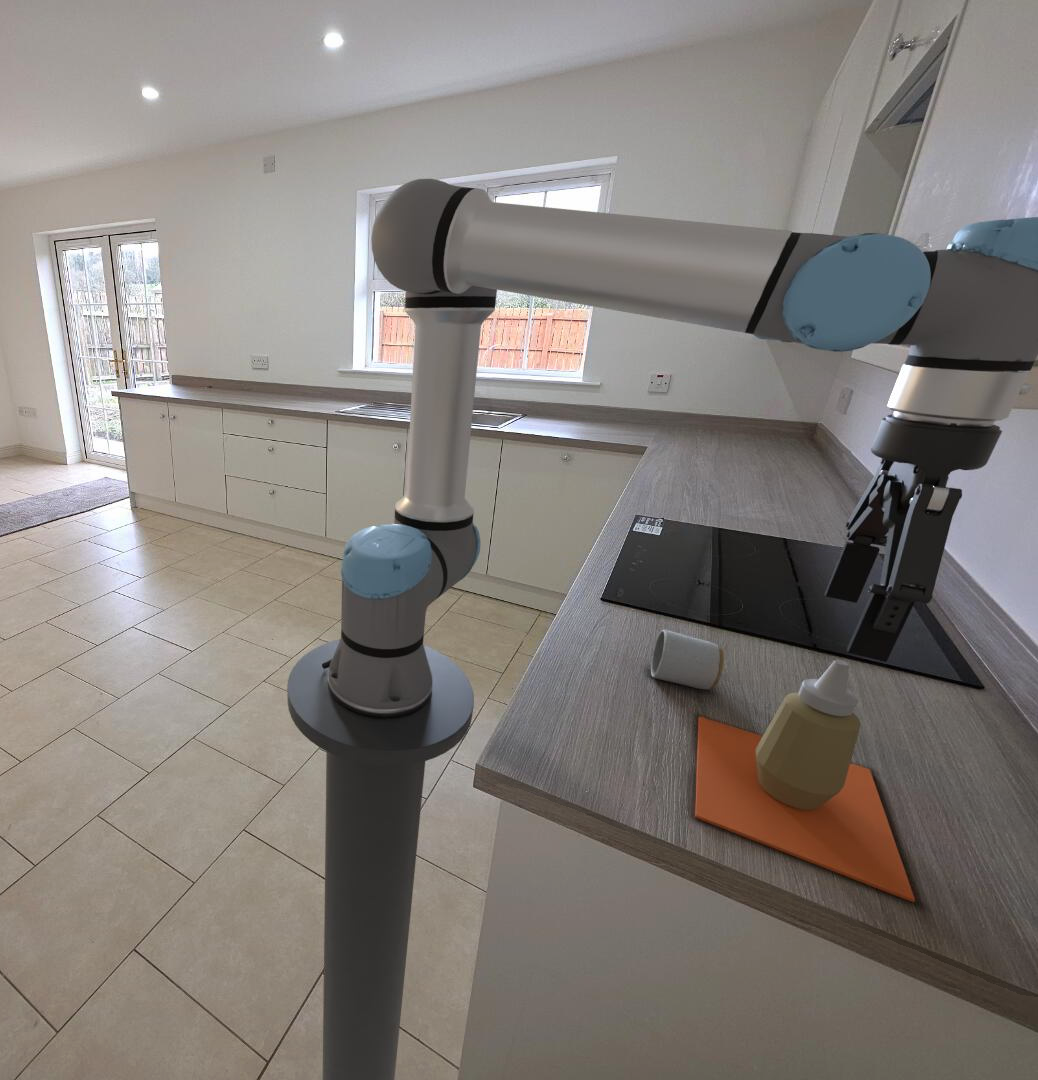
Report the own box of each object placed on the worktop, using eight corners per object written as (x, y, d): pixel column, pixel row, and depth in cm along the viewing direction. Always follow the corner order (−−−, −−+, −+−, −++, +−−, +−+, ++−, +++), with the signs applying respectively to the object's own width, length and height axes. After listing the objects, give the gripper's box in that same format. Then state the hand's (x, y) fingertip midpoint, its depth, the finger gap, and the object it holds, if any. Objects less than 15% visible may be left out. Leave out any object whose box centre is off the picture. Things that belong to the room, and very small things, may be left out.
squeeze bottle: (835, 791, 66) (895, 662, 60) (828, 832, 61) (892, 696, 54) (753, 755, 72) (799, 634, 65) (739, 791, 66) (788, 662, 60)
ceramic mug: (716, 701, 82) (730, 656, 79) (652, 687, 85) (664, 643, 83) (704, 664, 91) (717, 623, 88) (647, 652, 94) (657, 612, 92)
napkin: (694, 817, 63) (695, 815, 63) (698, 718, 79) (699, 716, 79) (913, 902, 54) (915, 900, 54) (868, 771, 70) (870, 769, 70)
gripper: (1076, 450, 38) (940, 702, 47) (954, 404, 58) (873, 588, 66) (925, 436, 42) (824, 672, 50) (858, 397, 62) (792, 572, 70)
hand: (851, 624), depth 58 cm, fingers open, 13 cm apart
